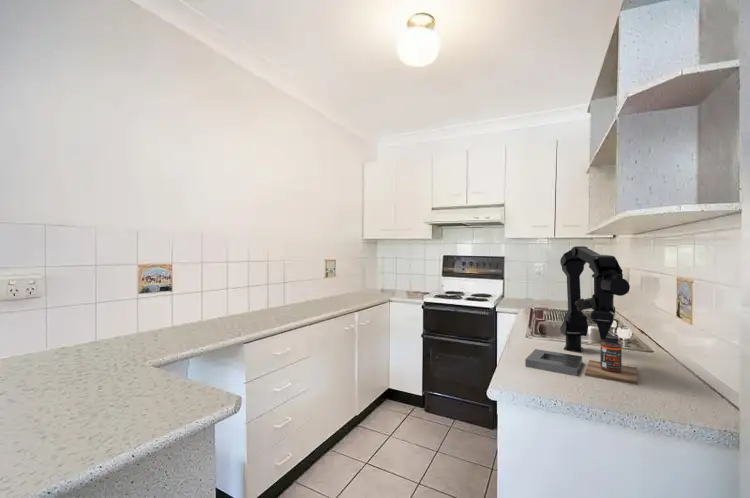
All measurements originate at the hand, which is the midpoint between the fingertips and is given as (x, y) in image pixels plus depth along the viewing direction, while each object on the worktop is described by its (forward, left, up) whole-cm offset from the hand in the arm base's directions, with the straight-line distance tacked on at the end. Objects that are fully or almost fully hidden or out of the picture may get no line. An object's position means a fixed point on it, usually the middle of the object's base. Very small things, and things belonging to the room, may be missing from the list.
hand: (603, 336), depth 119 cm
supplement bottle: (+2, +2, -11) cm, 11 cm away
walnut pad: (+2, +2, -12) cm, 12 cm away
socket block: (+4, -15, -12) cm, 19 cm away
